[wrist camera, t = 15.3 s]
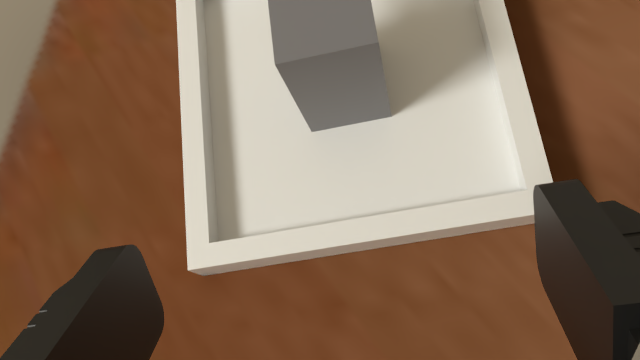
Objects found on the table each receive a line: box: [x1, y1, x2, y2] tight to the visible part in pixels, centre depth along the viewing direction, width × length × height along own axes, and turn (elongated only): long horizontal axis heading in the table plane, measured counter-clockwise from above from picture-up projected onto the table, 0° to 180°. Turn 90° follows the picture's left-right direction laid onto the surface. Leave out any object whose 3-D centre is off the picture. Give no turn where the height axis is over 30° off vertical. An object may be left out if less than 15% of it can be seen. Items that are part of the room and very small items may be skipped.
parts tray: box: [176, 0, 553, 276], centre depth 30 cm, size 18×18×2 cm
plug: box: [268, 0, 392, 132], centre depth 27 cm, size 4×6×8 cm
